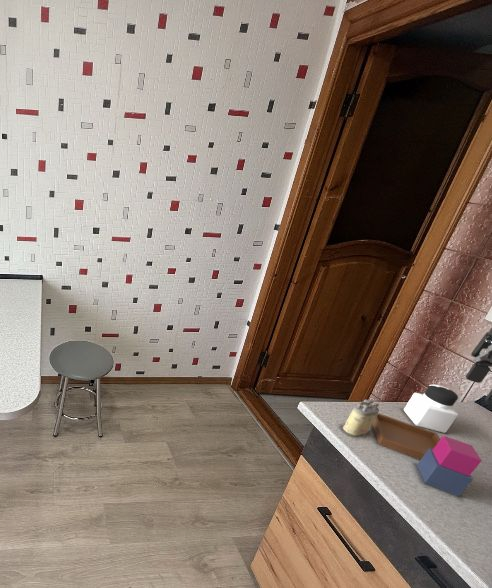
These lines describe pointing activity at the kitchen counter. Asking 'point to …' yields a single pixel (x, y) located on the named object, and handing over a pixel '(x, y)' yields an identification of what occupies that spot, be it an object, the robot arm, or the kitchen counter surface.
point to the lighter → (361, 418)
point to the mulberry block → (456, 455)
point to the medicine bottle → (433, 408)
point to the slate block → (442, 475)
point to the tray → (404, 436)
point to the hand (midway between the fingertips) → (481, 391)
